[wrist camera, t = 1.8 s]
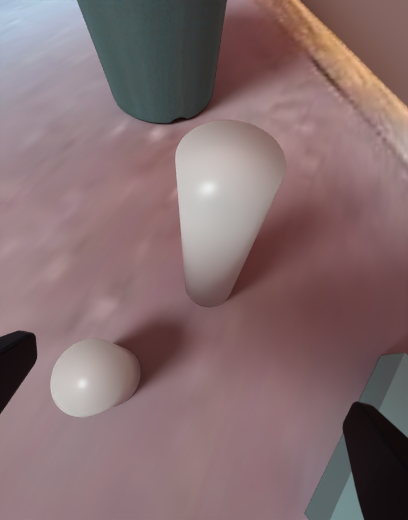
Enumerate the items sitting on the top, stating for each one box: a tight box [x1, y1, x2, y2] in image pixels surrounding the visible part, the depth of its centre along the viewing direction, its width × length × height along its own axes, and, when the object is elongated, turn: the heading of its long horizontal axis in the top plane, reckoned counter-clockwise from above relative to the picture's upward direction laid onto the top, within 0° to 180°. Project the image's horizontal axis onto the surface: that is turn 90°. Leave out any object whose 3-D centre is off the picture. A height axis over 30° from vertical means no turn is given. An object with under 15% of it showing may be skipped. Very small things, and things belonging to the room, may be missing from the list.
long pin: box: [175, 120, 286, 307], centre depth 16 cm, size 4×4×14 cm
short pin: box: [50, 338, 141, 417], centre depth 17 cm, size 4×4×5 cm
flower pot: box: [77, 0, 227, 123], centre depth 25 cm, size 16×16×16 cm
